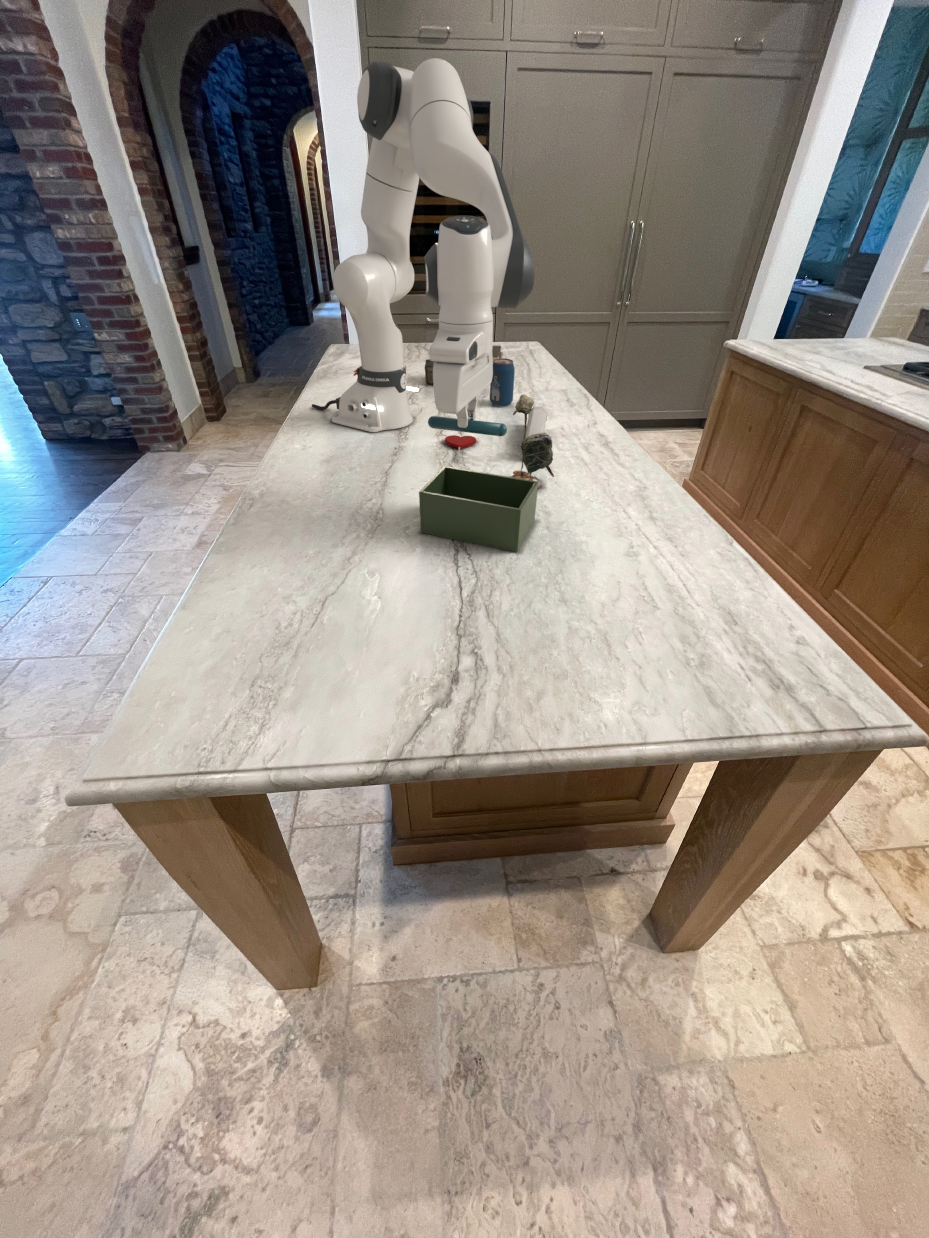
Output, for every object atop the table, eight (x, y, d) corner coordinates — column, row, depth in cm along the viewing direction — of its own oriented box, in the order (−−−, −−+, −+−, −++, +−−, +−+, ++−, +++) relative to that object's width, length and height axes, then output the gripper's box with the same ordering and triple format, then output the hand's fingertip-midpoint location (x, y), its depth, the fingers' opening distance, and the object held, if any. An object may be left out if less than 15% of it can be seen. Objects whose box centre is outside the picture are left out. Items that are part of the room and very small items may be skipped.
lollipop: (474, 462, 127) (476, 439, 139) (474, 459, 127) (476, 435, 138) (440, 461, 128) (445, 438, 139) (440, 458, 127) (445, 434, 139)
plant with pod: (551, 496, 115) (563, 400, 102) (498, 491, 116) (504, 396, 103) (553, 480, 121) (565, 387, 108) (504, 475, 122) (509, 383, 110)
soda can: (512, 400, 164) (515, 358, 156) (512, 408, 158) (514, 364, 151) (490, 399, 164) (491, 357, 156) (488, 407, 159) (490, 363, 151)
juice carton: (485, 377, 182) (485, 357, 178) (486, 386, 175) (487, 366, 171) (426, 377, 182) (425, 358, 178) (425, 386, 175) (424, 366, 171)
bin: (420, 532, 102) (418, 491, 97) (444, 504, 111) (444, 465, 106) (517, 552, 97) (520, 510, 92) (534, 521, 106) (538, 481, 101)
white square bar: (546, 447, 125) (550, 410, 144) (525, 438, 125) (532, 403, 144) (536, 466, 129) (542, 428, 148) (516, 458, 128) (524, 421, 147)
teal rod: (426, 429, 100) (425, 417, 98) (431, 425, 101) (430, 413, 100) (504, 438, 95) (505, 426, 94) (508, 434, 97) (508, 422, 96)
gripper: (469, 326, 97) (469, 404, 106) (424, 352, 82) (429, 440, 91) (502, 328, 95) (500, 407, 104) (463, 354, 80) (464, 445, 89)
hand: (466, 423), depth 97 cm, fingers closed on teal rod, 2 cm apart
